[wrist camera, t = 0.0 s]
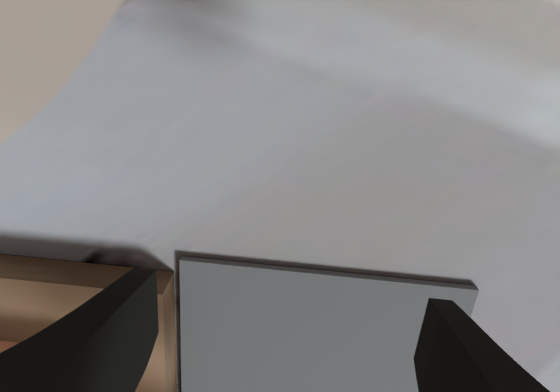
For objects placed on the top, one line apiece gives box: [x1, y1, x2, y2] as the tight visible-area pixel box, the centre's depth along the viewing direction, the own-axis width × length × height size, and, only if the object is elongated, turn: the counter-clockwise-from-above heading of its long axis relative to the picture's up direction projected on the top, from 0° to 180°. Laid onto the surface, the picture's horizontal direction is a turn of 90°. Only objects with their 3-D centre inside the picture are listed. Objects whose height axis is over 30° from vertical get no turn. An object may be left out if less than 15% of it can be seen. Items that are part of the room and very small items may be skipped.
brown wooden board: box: [0, 254, 177, 392], centre depth 26 cm, size 14×12×2 cm
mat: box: [179, 256, 479, 392], centre depth 26 cm, size 16×15×1 cm
